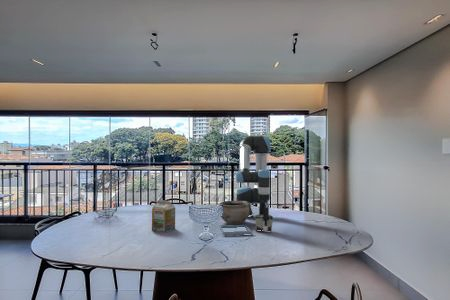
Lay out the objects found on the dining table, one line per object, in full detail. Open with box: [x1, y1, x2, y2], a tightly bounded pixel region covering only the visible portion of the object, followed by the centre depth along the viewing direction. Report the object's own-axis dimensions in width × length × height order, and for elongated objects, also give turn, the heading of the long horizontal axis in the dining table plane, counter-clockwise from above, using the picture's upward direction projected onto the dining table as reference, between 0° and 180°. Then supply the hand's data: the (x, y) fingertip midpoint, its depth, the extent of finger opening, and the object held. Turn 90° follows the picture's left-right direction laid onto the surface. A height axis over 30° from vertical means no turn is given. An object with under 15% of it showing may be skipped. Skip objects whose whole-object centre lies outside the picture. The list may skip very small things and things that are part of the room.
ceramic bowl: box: [218, 200, 249, 225], centre depth 210 cm, size 22×22×15 cm
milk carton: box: [151, 199, 176, 234], centre depth 190 cm, size 11×11×19 cm
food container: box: [253, 214, 274, 232], centre depth 189 cm, size 12×6×10 cm, turn 84°
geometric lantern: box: [92, 171, 121, 219], centre depth 230 cm, size 16×16×35 cm
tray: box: [218, 224, 253, 236], centre depth 185 cm, size 18×18×2 cm
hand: (263, 229), depth 188 cm, fingers closed on food container, 7 cm apart
